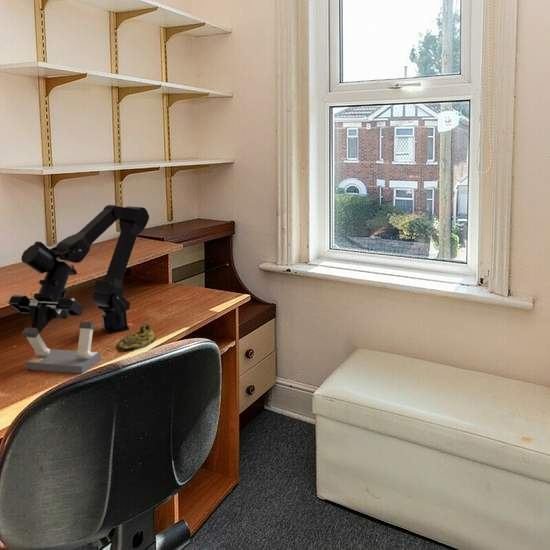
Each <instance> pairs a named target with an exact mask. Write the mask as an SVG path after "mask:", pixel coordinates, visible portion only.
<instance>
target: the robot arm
mask: <svg viewBox="0 0 550 550" xmlns="http://www.w3.org/2000/svg"><path fill="white" fill-rule="evenodd" d="M117 220H119V221H118V224H119V225H118V226H119V228H120V229H119V230H120V233H119V236H118V238H117V242H116V244H115V248H114V250H113V254H112V257H111V259H110V262H109V265H108V269H107V271H106V274H105V276H104V277H103V278H102V279H96V281H95V282H94V283H95V284H94V287H93V289H92V291H91V293H92V300H93V302H94V304H95V305H96V306H97V308H98V310H102V315H101V326H102V329H104V331H105V332H107V334H112V333H117V332H118V333H119V332H123V331H127V330H130V326H129V325H128V319H127V311H128V310H130V309H131V308H130V307H131V301H129V300H127V299H126V298H125V297H124V291H125V289H124V285H123V279H124V275H125V273H126V270H127V266H128V265H129V261H130V258H131V255H132V252H133V248H134V245H135V243H136V240H137V238H138V236H139V235H140V234H141V233H142V232H143V231H144V230H145V229H146V227H147V225H148V222H149V221H150V214H149V212H148V210H147V209H146V208H145V207H143V206H132V205H131V206H129V205H128V206H127V205H126V206H125V207H124V206H121V205H116V204H107V205H105V206H104V208H103V209H102V211H100V212H99V213H98V214H97V215H96V216H95V217H94V218H92V219H91V220H90V222H88V223H87V224H86V225H85V226H84V227H82V229H80V230H79V231H78V232H76V233H75V234H72V235H70V236H67V237H65V238H64V239H62V240H60V241H59V242H58V243H57V244H56V245H55V246H54V247H51V248H49V247H47V246H46V245H45V244H44V243H43V242H42V241H35V242H34V243H33V244H32V245H30V246H29V247H27V249H25V250H24V251H23V252H22V253H21V254H22V255H21V259H20V260H21V262H22V263H23V264H24V265H27V266H28V267H29V268H30V269H32V270H34V271H35V272H36V273H39V274H40V275H41V274H44V273H45V275H44V278H43V279H40V280H39V281H38V284H39V286H40V289H39V290H38V293H34V295H33V298H34V299H30V298H29V297H28V296H27V295H18V294H17V295H15V294H14V295H12V296H11V297H10V299H9V301H8V303H7V304H8V305H9V306H11V307H12V308H13V309H14V310H16V311H17V312H19V313H20V314H28V315H30V323H31V328H37V330H38V331H39V334H41V332H42V331H43V330H44V329H45V328H46V327H47V325H48V324H49V323H51V321H52V320H54V319H64V320H66V319H68V317H69V315H70V316H71V317H81V316H82V313H83V306H82V304H80V303H79V301H78V300H76V299H75V298H74V297H67V291H68V290H67V289H66V286H67V283H68V280H69V277H70V276H76V275H78V271H77V270H76V268H75V265H69V264H68V263H73V264H76V263H77V264H78V263H79V264H80V263H81V262H82V261H84V259H85V258H86V257H87V255H88V254H89V252H90V249H91V247H92V245H93V244H94V242H95V241H96V240H98V238H99V237H101V236H102V235H103V234H104V233H105V232H106V231H107V230H108V229H109V228H110V227H112V226H113V224H114V223H115V222H117ZM67 262H68V263H67Z"/></svg>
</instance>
